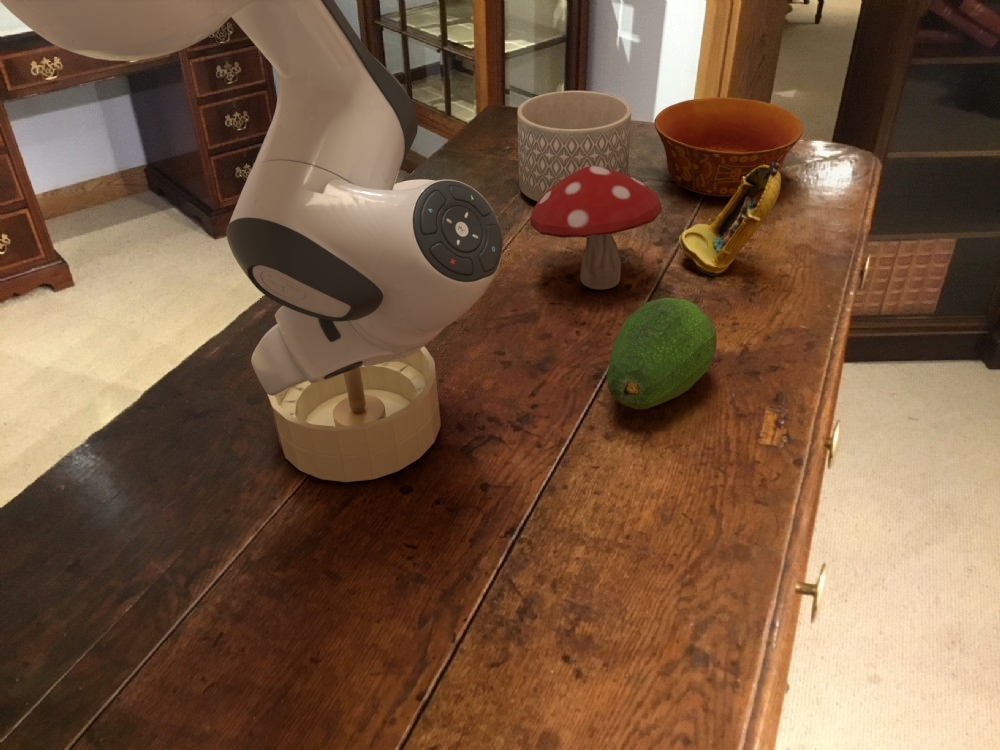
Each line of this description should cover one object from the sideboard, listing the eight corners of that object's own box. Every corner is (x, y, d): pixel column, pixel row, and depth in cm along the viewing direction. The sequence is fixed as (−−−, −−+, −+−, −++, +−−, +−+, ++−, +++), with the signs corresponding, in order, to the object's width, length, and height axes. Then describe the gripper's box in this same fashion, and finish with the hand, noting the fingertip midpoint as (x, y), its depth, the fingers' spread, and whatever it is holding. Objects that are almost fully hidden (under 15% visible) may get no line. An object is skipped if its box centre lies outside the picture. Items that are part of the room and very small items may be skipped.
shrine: (771, 259, 112) (791, 150, 103) (758, 289, 106) (778, 176, 97) (685, 243, 116) (697, 137, 107) (668, 271, 110) (679, 161, 101)
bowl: (777, 225, 119) (790, 157, 113) (631, 202, 127) (636, 137, 121) (802, 168, 134) (814, 105, 128) (670, 150, 142) (676, 90, 136)
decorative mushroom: (518, 306, 105) (515, 193, 96) (544, 245, 117) (543, 140, 108) (649, 319, 101) (658, 204, 92) (661, 255, 114) (670, 147, 105)
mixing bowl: (416, 495, 79) (408, 438, 75) (254, 475, 82) (238, 420, 78) (457, 389, 92) (452, 336, 88) (315, 375, 95) (305, 323, 91)
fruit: (660, 448, 83) (668, 366, 77) (575, 410, 88) (577, 331, 82) (729, 372, 93) (742, 294, 87) (649, 342, 98) (656, 266, 92)
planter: (599, 224, 122) (602, 138, 114) (499, 202, 128) (496, 119, 121) (643, 180, 133) (649, 99, 125) (549, 162, 140) (549, 84, 132)
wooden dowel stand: (377, 444, 84) (354, 302, 74) (328, 439, 85) (299, 298, 75) (393, 411, 88) (373, 272, 78) (345, 406, 89) (320, 268, 79)
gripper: (471, 231, 75) (418, 284, 87) (257, 316, 65) (231, 362, 77) (505, 294, 75) (447, 339, 87) (296, 389, 65) (264, 424, 77)
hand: (344, 350), depth 82 cm, fingers open, 6 cm apart
